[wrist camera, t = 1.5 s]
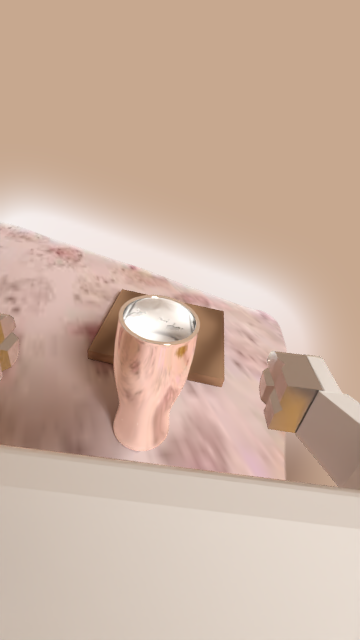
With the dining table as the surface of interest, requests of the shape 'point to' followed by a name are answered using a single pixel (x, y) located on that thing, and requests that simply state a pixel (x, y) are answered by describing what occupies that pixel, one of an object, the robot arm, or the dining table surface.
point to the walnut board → (208, 344)
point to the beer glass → (151, 366)
